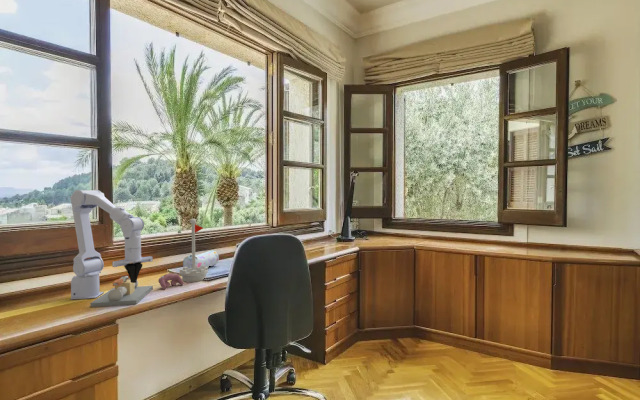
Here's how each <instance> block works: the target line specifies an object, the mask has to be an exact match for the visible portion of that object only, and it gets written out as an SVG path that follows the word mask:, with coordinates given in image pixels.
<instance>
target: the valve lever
mask: <svg viewBox="0 0 640 400" xmlns="http://www.w3.org/2000/svg"><path fill="white" fill-rule="evenodd" d="M126 279H127V280H128V279H129V275H122V276H120V278H117V279H115V280H114V281H112V287H115V286H120V285H121V284H122V283H123V281H125V280H126Z"/></svg>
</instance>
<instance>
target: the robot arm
mask: <svg viewBox="0 0 640 400" xmlns="http://www.w3.org/2000/svg"><path fill="white" fill-rule="evenodd" d="M70 202H71V210H72V215H73V216H72V217H73V220H74V221H73V222H74V227H75V228H74V229H75V234H76V235H75V236H76V239H77V248H78V254H77V255H76V256H75V257H74V258H73V259H72V260H73V265H72V266H73V267H72V270H73V274H75V275H74V276H73V277H72V278H71V281H70V299H69V300H84V299H85V300H86V299H97V298H99V297H100V296H102V295H103V294H105V293H104V291H100V274H101V273H102V271H103V269H104V267H105V266H104V265H105V263H104V260H103V259H102V254H101V253H100V252H98V251H96V249H95V244H94V237H93V231H92V225H91V219H90V218H91V217H90V213H91V211H92V210H94V209H96V208H97V207H98V208H100V209H102V210H104V211H105V212H106V213H107V214H109V218H110V219H111V220H112V221H114V222H115V223H116V224H117V225H119V226H120V230H121V231H122V237H123V238H124V259H121V260H120V259H119V260H116V261H112V267H113V268H118V267H123V268H124V269H125V270H126V272H127V275H128V278H129V279H130V280H131V283H136V282H137V281H138V277H139V274H140V272H141V269H142V268H143V263H149V262H151V263H152V262H154V260H153V256H151V255H150V256H142V236H141V235H142V233H141V231H143V230H144V227H145V222H144V220H143V219H142V217H139V216H134V214H132V213H129V211H127V210H126V208H125V207H124V206H116V205H115V204H113V203H112V201H110V200H109V199H108V198H107V197H105V193H104V192H102V191H101V190H99V189H93V190H90V189H86V190H85V189H76V190H74V191H73V193H72V194H71V196H70Z"/></svg>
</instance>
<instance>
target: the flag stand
mask: <svg viewBox="0 0 640 400" xmlns="http://www.w3.org/2000/svg"><path fill="white" fill-rule="evenodd" d="M189 223H190V224H191V255H192V268H189V269H188V267H182V268H180V269H179V276H180V277H181V279H182V280H183V282H186V283H187V282H188V283H189V282H190V283H193V282H199V281H203V279H204V278H205V277H207V273H209V267H206V266H201V268H197V266H196V262H195V255H196V233H198V232H199V231H201V230H203V229H204V227H202V226H200V225H197V219H195V218H191V219H190V220H189ZM204 280H205V279H204Z"/></svg>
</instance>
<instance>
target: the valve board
mask: <svg viewBox="0 0 640 400" xmlns="http://www.w3.org/2000/svg"><path fill="white" fill-rule="evenodd" d="M138 281H139V280H137V282H136V283H131V280H130V278H128V279H126V280H125V281H123V283H122V284H121V285H120V286H114V287H113V288H111V289H110V290H108V291H107V292H105V293H102V294H101V295H99V296H98V297H96V298H95V299H94V300H92V301H91V302H90V305H89V307H90V308H96V307H97V308H98V307H99V308H100V307H113V306H115V307H116V306H130V305H132V306H133V305H138V303H140V301H142V300H143V299H144V298H145V297H146V296H147V295H148V294H149V293H150V292H152V291H153V289H154V288H153V285H145V286H143V285H142V286H139V282H138Z"/></svg>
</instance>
